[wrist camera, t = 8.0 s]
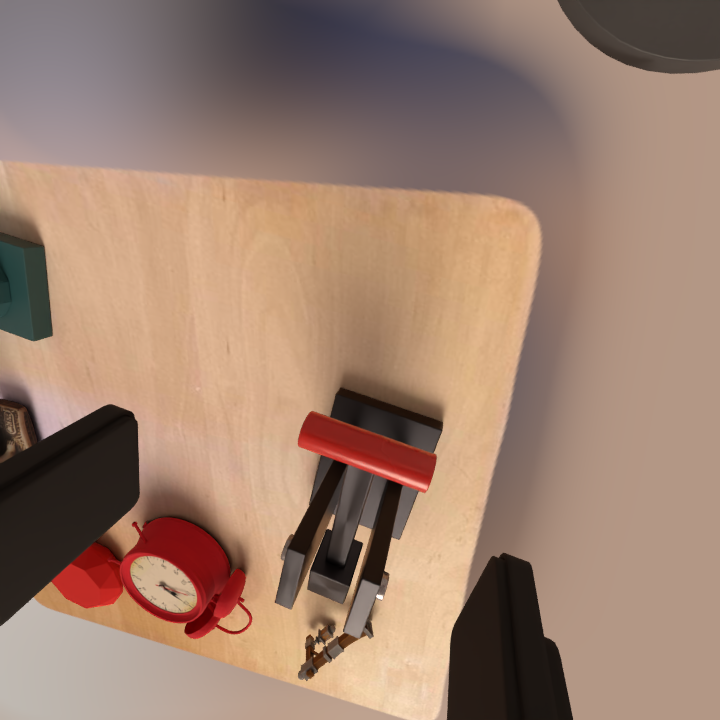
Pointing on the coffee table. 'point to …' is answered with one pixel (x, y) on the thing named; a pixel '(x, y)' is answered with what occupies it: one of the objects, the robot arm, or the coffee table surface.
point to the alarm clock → (182, 576)
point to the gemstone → (91, 578)
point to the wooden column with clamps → (327, 649)
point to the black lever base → (380, 512)
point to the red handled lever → (356, 491)
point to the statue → (14, 429)
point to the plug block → (23, 289)
